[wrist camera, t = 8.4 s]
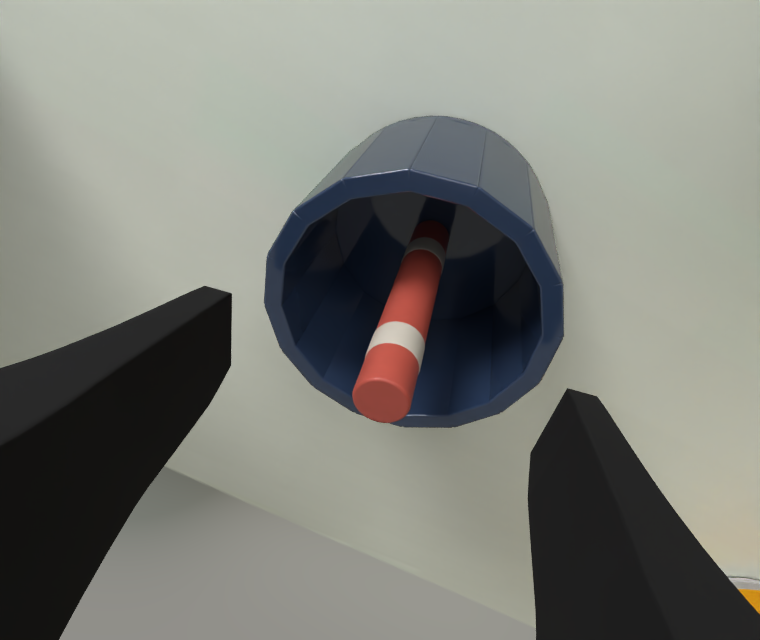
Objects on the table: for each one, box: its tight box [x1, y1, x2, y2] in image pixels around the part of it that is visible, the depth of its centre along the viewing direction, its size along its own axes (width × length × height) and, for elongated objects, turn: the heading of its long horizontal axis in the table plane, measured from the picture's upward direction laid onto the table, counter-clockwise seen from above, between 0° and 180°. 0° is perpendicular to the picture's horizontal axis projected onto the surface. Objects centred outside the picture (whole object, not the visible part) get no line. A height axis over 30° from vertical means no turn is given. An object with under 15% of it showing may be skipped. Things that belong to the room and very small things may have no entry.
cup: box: [264, 116, 564, 428], centre depth 15 cm, size 7×7×6 cm
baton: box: [352, 220, 449, 423], centre depth 13 cm, size 1×1×8 cm
